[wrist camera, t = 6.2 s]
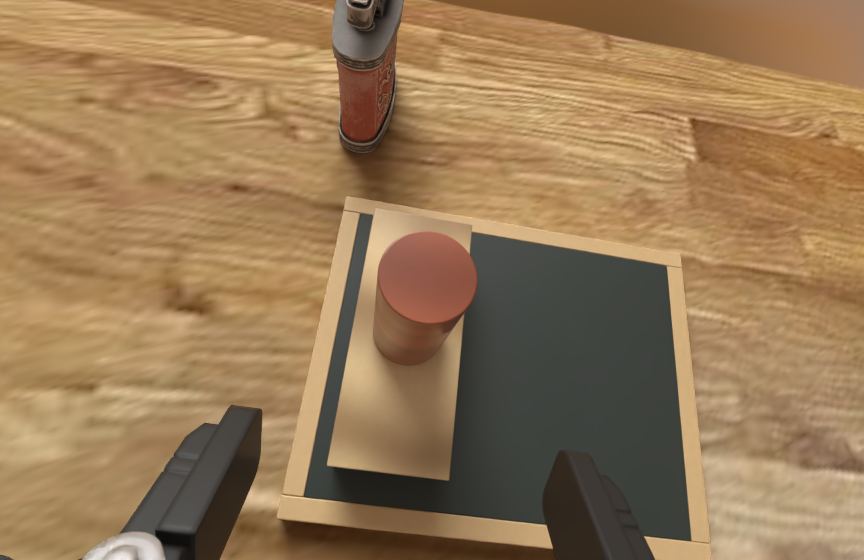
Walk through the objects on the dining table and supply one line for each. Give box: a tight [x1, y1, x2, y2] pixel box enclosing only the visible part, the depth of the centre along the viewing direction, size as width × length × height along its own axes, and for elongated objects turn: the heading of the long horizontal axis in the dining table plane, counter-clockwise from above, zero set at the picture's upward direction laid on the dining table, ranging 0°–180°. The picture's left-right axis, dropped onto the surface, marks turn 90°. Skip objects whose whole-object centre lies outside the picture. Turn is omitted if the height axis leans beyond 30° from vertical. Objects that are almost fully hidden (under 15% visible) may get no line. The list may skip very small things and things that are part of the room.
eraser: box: [327, 208, 478, 481], centre depth 19 cm, size 12×5×10 cm, turn 173°
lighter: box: [332, 0, 404, 153], centre depth 26 cm, size 8×3×10 cm, turn 172°
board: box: [277, 196, 712, 560], centre depth 25 cm, size 21×17×1 cm
